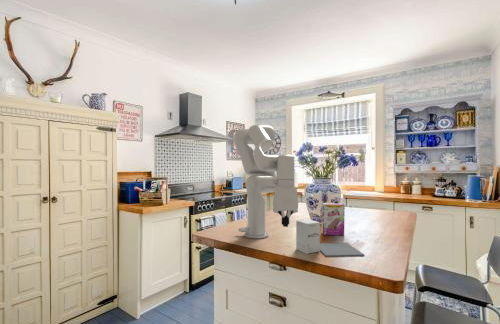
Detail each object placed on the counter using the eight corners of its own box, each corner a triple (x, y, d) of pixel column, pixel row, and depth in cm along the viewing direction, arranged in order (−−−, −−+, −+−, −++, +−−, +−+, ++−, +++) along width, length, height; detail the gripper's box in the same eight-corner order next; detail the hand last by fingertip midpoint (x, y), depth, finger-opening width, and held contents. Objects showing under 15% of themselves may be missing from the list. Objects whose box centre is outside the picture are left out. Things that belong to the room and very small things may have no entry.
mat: (325, 256, 104) (325, 255, 104) (313, 244, 120) (313, 243, 120) (364, 255, 105) (364, 254, 105) (346, 244, 121) (346, 242, 121)
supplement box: (306, 254, 106) (306, 223, 107) (295, 249, 113) (295, 220, 113) (320, 251, 110) (320, 222, 110) (308, 246, 116) (308, 218, 117)
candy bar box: (323, 235, 136) (323, 204, 136) (321, 233, 141) (321, 202, 141) (344, 236, 135) (344, 204, 135) (342, 233, 140) (342, 203, 140)
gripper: (269, 184, 107) (269, 228, 107) (304, 184, 108) (304, 228, 108) (267, 182, 114) (267, 224, 114) (300, 182, 115) (300, 224, 115)
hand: (285, 226), depth 111 cm, fingers closed
